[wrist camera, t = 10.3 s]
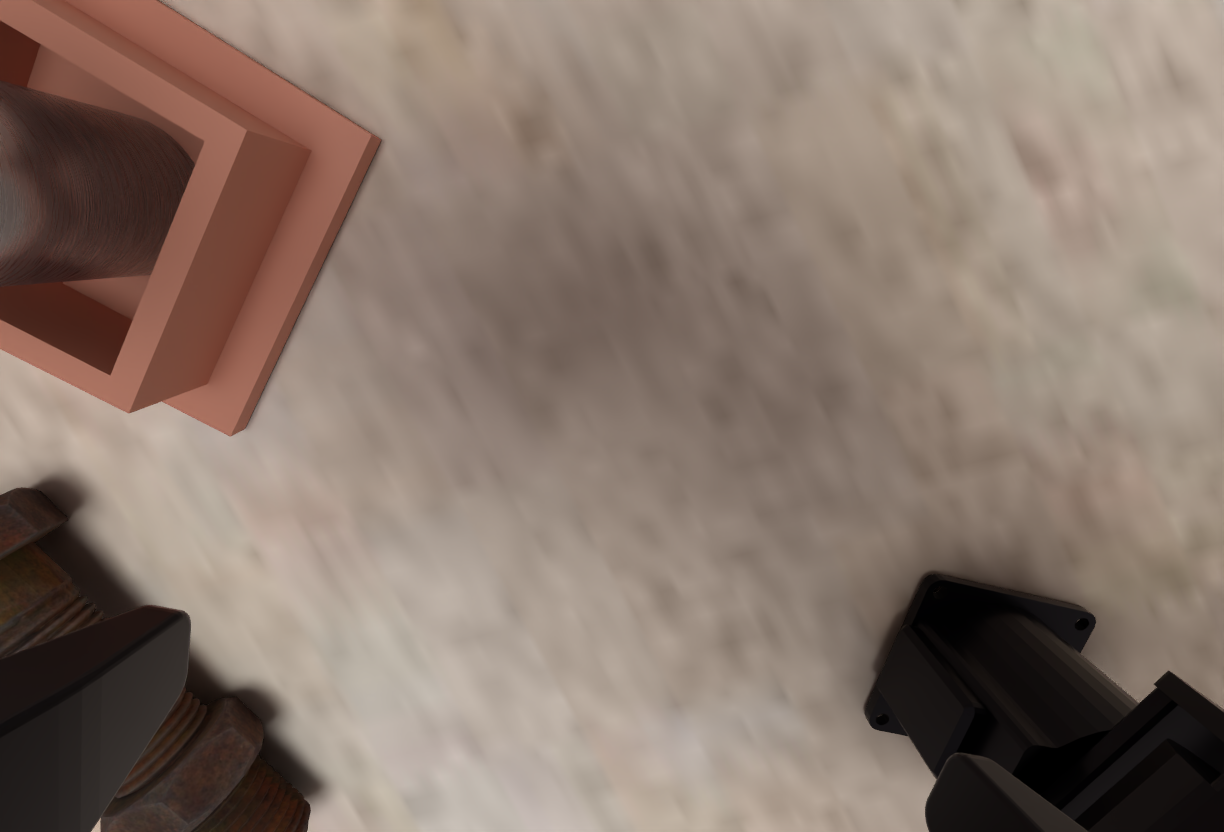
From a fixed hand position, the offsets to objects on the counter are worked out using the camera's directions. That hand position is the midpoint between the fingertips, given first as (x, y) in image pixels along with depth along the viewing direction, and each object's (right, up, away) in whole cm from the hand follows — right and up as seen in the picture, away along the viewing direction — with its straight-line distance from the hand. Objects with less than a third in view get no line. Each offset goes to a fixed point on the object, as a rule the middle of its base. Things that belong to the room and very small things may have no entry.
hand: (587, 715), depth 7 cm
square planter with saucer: (-13, +10, +10) cm, 19 cm away
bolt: (-16, -6, +15) cm, 23 cm away
